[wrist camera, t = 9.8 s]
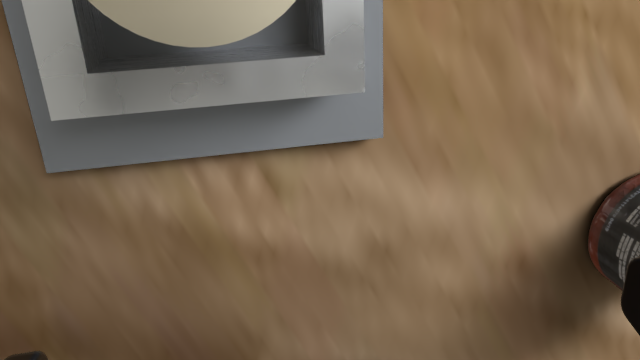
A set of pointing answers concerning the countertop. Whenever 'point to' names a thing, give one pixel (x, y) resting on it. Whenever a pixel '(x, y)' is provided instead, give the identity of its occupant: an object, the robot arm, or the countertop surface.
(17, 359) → the robot arm
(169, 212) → the countertop surface
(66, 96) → the socket collar
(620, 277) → the supplement bottle
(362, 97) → the socket plate
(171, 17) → the beech peg
